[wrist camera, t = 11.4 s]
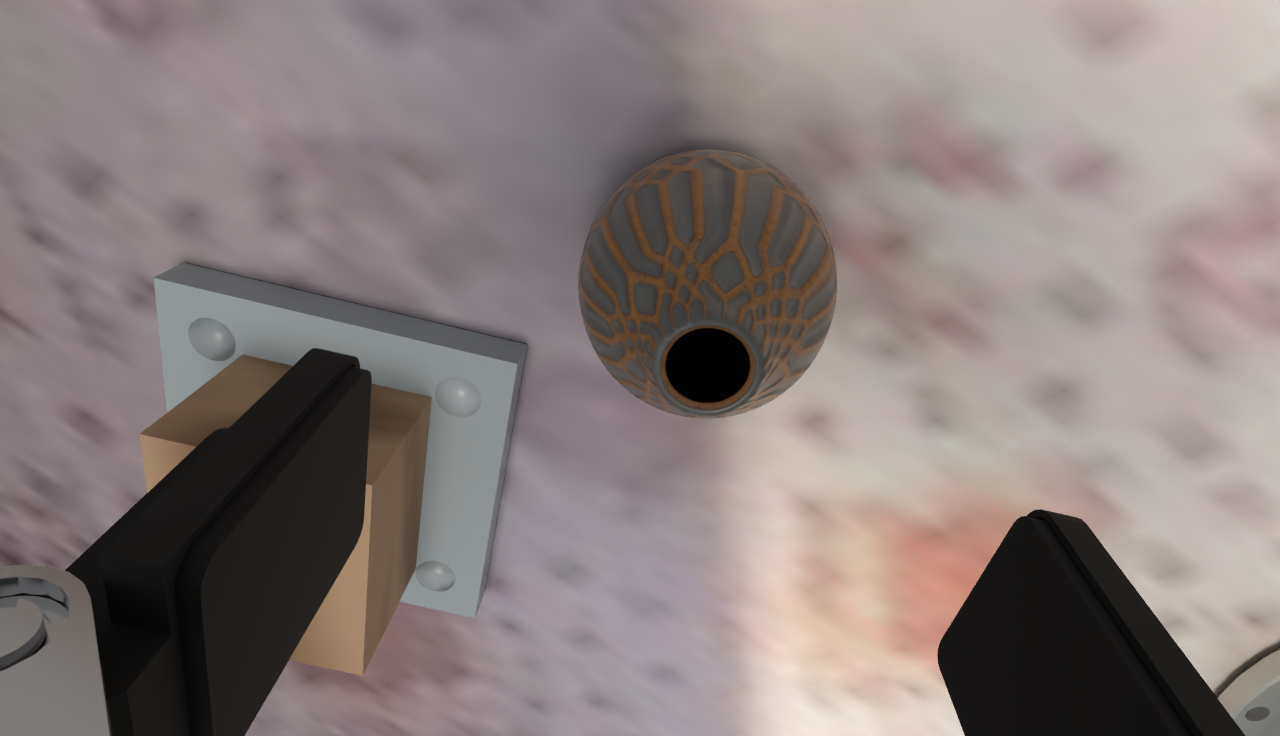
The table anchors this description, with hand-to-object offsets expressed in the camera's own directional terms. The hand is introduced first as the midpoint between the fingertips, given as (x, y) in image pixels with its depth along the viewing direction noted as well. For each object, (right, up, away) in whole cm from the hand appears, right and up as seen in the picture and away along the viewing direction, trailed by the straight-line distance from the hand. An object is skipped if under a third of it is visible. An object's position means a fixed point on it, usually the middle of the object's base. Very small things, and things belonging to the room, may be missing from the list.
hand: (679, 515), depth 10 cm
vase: (+2, +6, +13) cm, 14 cm away
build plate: (-12, -1, +17) cm, 21 cm away
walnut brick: (-12, -2, +16) cm, 20 cm away
